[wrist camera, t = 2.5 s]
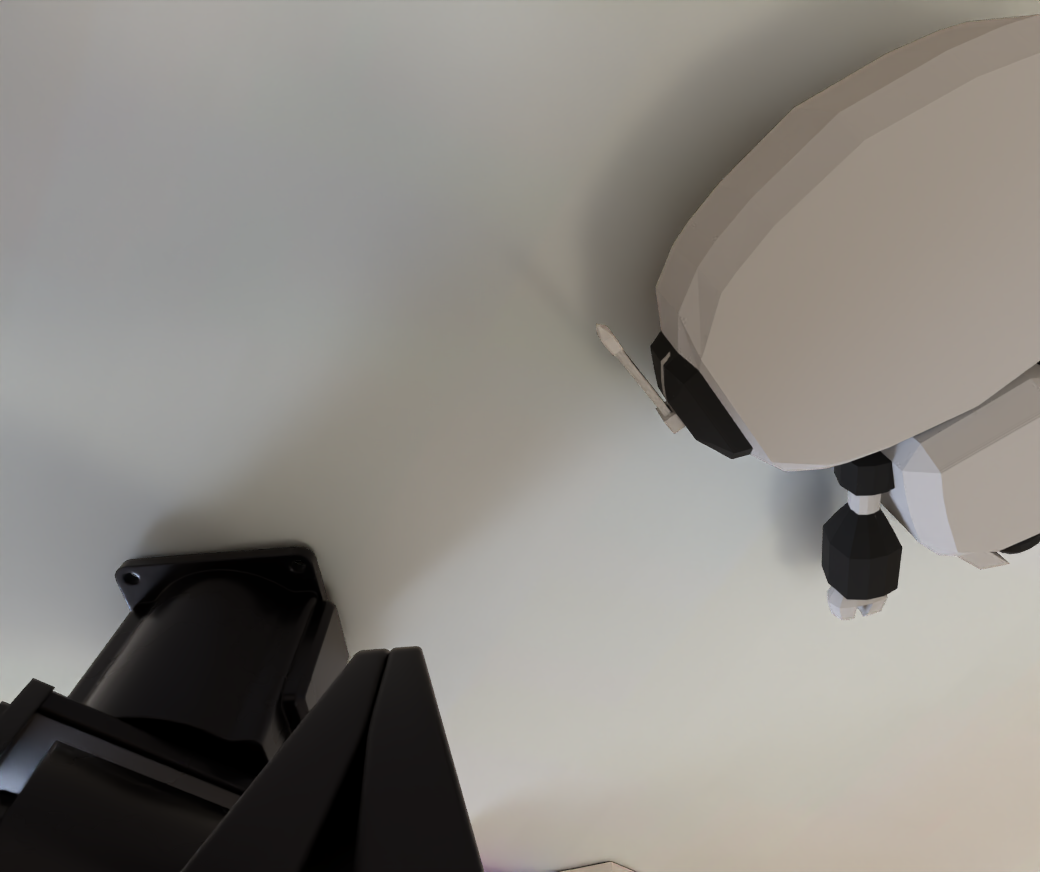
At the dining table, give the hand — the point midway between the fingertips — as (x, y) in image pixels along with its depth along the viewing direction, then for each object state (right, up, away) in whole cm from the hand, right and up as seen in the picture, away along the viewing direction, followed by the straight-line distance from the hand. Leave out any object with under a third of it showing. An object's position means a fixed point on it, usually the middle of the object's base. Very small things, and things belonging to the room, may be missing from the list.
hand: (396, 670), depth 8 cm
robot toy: (+12, +6, +10) cm, 17 cm away
